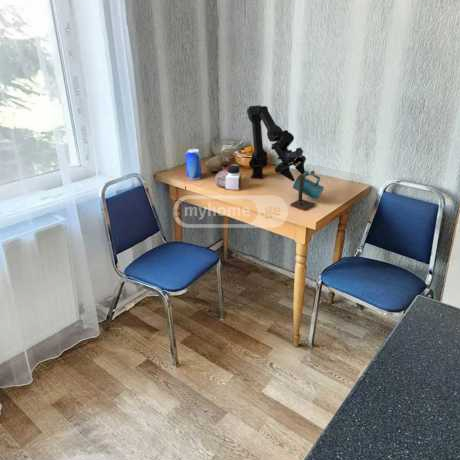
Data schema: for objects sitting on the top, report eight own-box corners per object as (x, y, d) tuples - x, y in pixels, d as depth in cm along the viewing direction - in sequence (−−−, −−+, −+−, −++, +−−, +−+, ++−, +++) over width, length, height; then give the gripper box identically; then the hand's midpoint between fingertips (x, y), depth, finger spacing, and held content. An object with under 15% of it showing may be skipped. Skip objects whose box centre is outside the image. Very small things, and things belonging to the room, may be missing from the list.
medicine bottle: (238, 190, 205) (238, 168, 200) (225, 189, 206) (225, 167, 201) (241, 185, 211) (241, 164, 206) (228, 184, 212) (228, 163, 207)
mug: (315, 202, 189) (291, 190, 193) (320, 195, 194) (297, 184, 198) (323, 183, 181) (298, 171, 185) (328, 177, 186) (304, 165, 190)
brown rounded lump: (215, 164, 248) (196, 166, 232) (218, 152, 246) (199, 154, 229) (232, 172, 243) (213, 174, 226) (235, 160, 240) (217, 161, 223)
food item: (228, 189, 206) (228, 171, 202) (214, 187, 209) (214, 169, 205) (238, 181, 217) (238, 164, 213) (225, 179, 220) (225, 162, 216)
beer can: (204, 176, 225) (203, 149, 218) (198, 181, 218) (197, 153, 211) (190, 174, 228) (189, 147, 221) (184, 179, 220) (182, 151, 214)
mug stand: (290, 205, 187) (292, 176, 181) (309, 196, 197) (312, 168, 191) (304, 210, 182) (306, 181, 176) (323, 200, 192) (326, 172, 186)
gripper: (280, 146, 182) (298, 174, 179) (304, 139, 194) (321, 165, 191) (267, 159, 190) (284, 186, 188) (290, 151, 202) (306, 177, 200)
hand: (299, 178), depth 191 cm, fingers open, 9 cm apart
